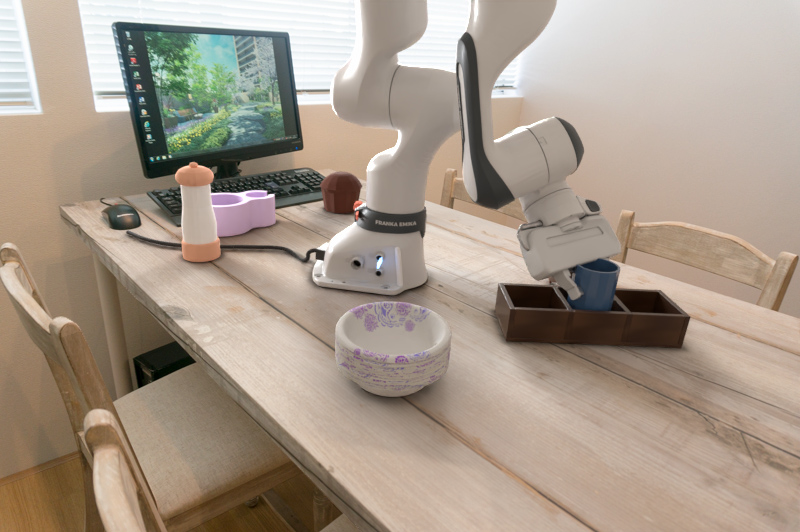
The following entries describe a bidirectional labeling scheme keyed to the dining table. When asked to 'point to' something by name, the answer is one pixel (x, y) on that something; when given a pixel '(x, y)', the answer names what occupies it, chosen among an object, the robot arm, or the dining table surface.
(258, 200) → the purple desk organizer
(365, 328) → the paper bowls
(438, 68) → the robot arm
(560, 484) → the dining table surface
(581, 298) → the cup
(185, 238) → the pepper shaker
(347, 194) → the muffin
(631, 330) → the cup rack
